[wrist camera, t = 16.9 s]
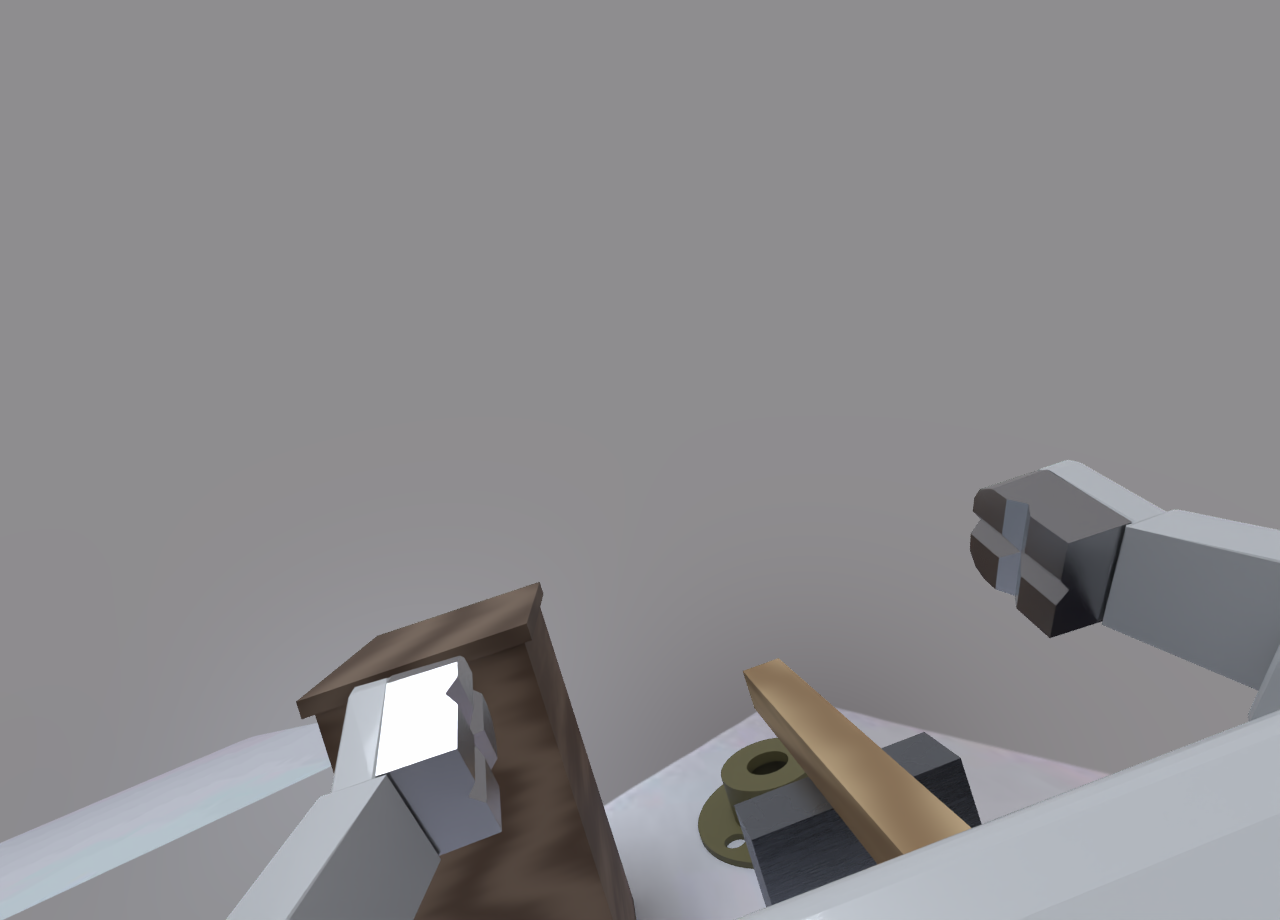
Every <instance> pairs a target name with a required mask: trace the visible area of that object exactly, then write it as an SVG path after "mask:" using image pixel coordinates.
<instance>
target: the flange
mask: <svg viewBox="0 0 1280 920" xmlns="http://www.w3.org/2000/svg"><path fill="white" fill-rule="evenodd" d="M806 777H808V775H807V774H806V773H805V771H804V770H803V769H802V768H801V766H800V765H799V764H798V763H797V761H796V760H795V759H794V757H793V756H792V755H791V754H790V752H789V751H788V750H787V749H786V747H785V746H784V745H783V743H782V742H781V741H780V740H779V738H772V739H767V740H763V741H759V742H756V743H754V744H751V745H749V746H747V747H745V748H743V749H741V750H739V751H738V752H736V753H735V754H734V755H732V756H731V757H730V758H729V759H728V760H727V761H726V763H725V764H724V766H723V768H722V770H721V778H722V781H723V785H722V786H720V787H719V788H718V789H717V790H716V791H715V792H714V793H713V794H712V795H711V796H710V797H709V799H708V800H707V801H706V803H705V804H704V806H703V808H702V810H701V813H700V816H699V821H698V829H699V833H700V836H701V840H702V842H703V844H704V846H705V847H706V849H707V850H708V851H709V852H710V853H711V854H712V855H713V856H714V857H716V858H717V859H719V860H721V861H723V862H725V863H728V864H731V865H734V866H738V867H743V868H751V869H754V867H753V864H752V860H751V857H750V854H749V851H748V848H747V845H746V842H745V843H744V844H743V845H742V846H740V847H738V848H733V849H731V848H727V846H728V844H729V843H731V842H732V841H735V840H739V839H742V840H745V838H744V835H743V832H742V829H741V826H740V823H739V820H738V816H737V813H736V810H735V807H734V805H736V804H738V803H741V802H744V801H746V800H749V799H751V798H754V797H757V796H759V795H762V794H764V793H767V792H770V791H772V790H775V789H777V788H780V787H783V786H785V785H788V784H790V783H793V782H796V781H798V780H801V779H803V778H806Z"/></svg>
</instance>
